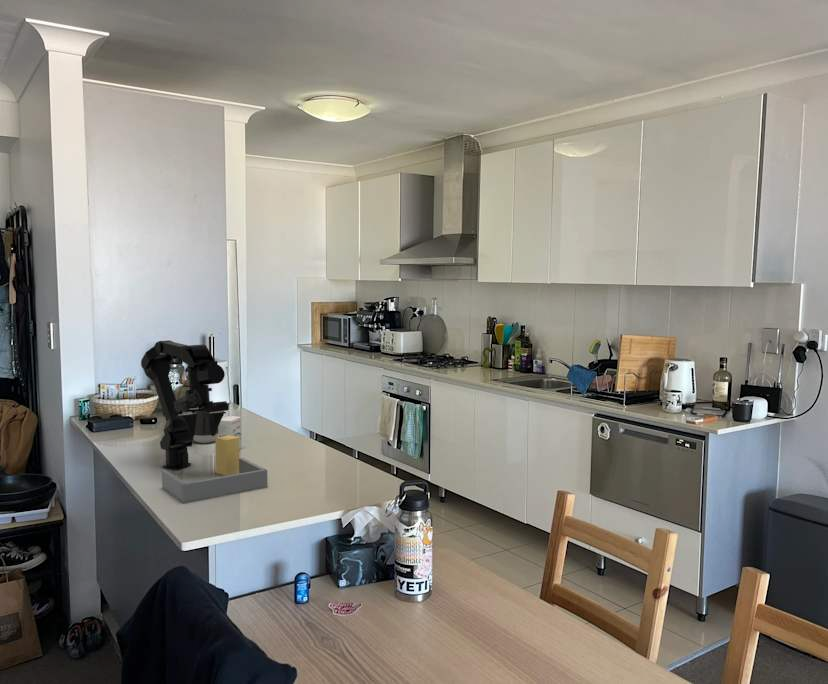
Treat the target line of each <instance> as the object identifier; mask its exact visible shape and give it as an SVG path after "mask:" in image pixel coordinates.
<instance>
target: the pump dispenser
mask: <svg viewBox="0 0 828 684" xmlns="http://www.w3.org/2000/svg"><path fill="white" fill-rule="evenodd" d="M202 407H204V406H202ZM197 408H198V407H197ZM203 409H204V408H203ZM208 413H210V412H206V411H196V412H195V414H197V420H196V428H195V435H194V437H193V440H195V441H196V443H199V444H210V443H214V442H215V438H218V437H219V434H218V429H217V431H216V434H215V436H211V432H210V425H209V419H208V417H207V416H206V415H205V414H208Z"/></svg>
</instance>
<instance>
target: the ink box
mask: <svg viewBox="0 0 828 684" xmlns="http://www.w3.org/2000/svg"><path fill="white" fill-rule="evenodd" d="M218 434H219V435H218V437H222V436H227V435H230V436H235V437H239V450H241V449H242V417H241V416H233V415H227V416H225V417H222V419H221V421H220V424H219V426H218Z"/></svg>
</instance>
